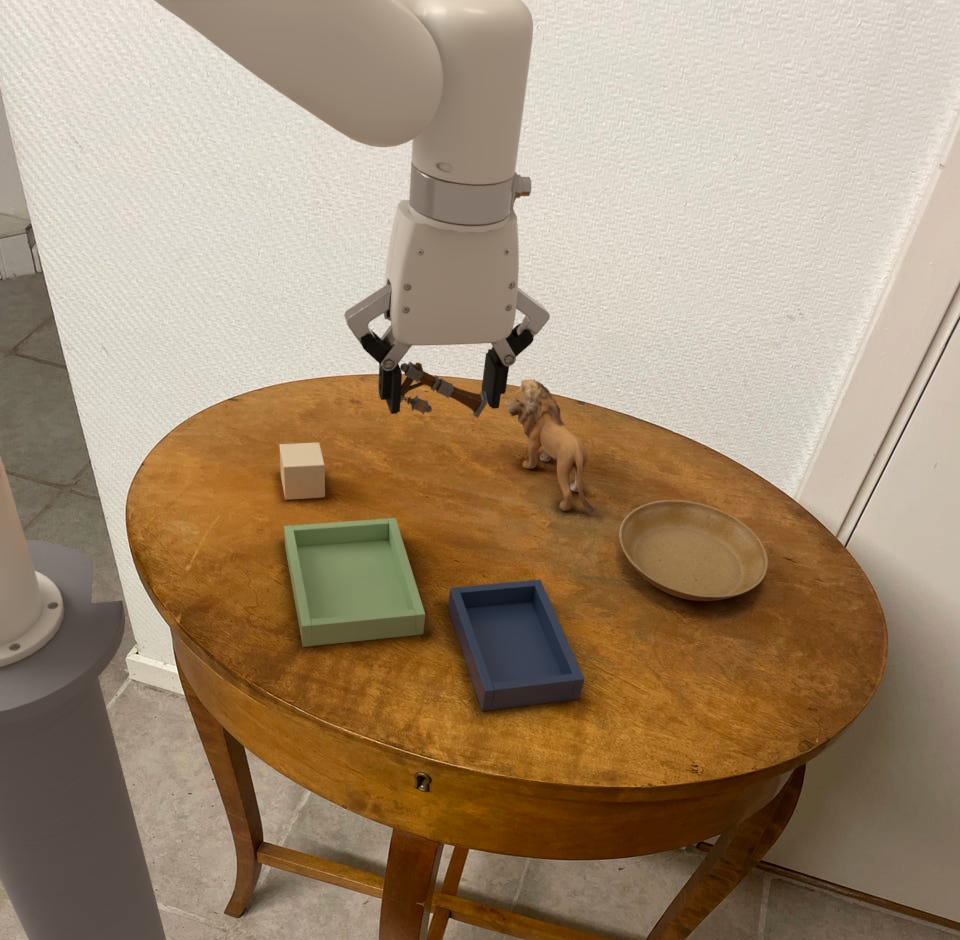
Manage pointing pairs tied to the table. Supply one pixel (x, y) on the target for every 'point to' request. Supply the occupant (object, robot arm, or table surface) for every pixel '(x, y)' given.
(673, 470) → the table surface
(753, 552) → the plant saucer
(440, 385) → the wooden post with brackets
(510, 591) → the slate tray
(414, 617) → the sage tray
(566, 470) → the lion figurine
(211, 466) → the table surface
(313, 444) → the cream block
